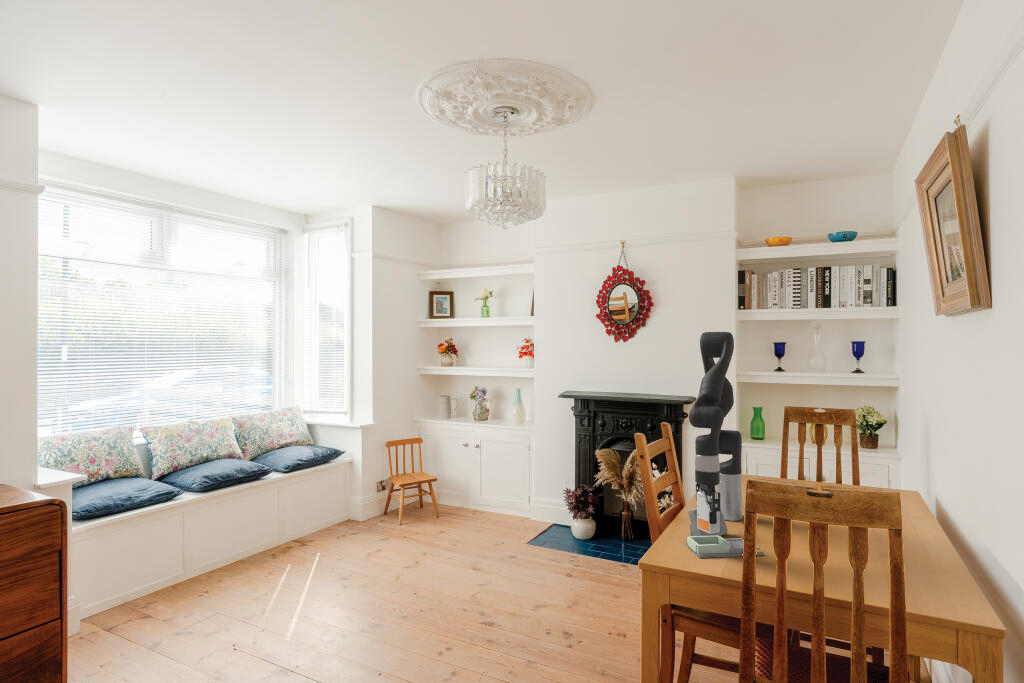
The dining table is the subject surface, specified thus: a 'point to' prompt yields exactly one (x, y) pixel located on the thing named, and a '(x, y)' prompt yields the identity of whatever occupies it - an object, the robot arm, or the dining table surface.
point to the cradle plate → (736, 544)
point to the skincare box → (705, 516)
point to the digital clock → (698, 532)
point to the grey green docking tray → (715, 546)
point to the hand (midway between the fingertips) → (708, 520)
